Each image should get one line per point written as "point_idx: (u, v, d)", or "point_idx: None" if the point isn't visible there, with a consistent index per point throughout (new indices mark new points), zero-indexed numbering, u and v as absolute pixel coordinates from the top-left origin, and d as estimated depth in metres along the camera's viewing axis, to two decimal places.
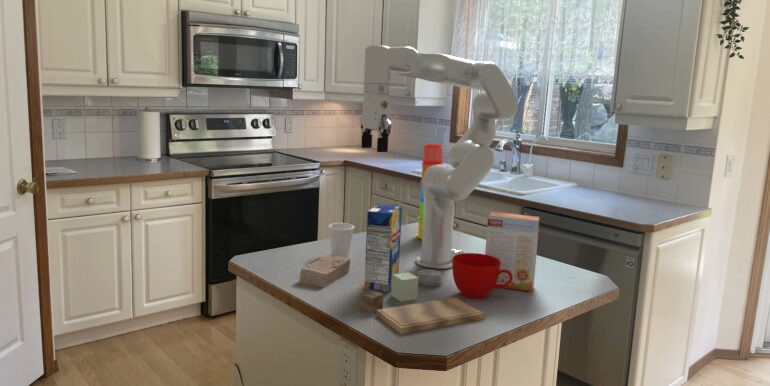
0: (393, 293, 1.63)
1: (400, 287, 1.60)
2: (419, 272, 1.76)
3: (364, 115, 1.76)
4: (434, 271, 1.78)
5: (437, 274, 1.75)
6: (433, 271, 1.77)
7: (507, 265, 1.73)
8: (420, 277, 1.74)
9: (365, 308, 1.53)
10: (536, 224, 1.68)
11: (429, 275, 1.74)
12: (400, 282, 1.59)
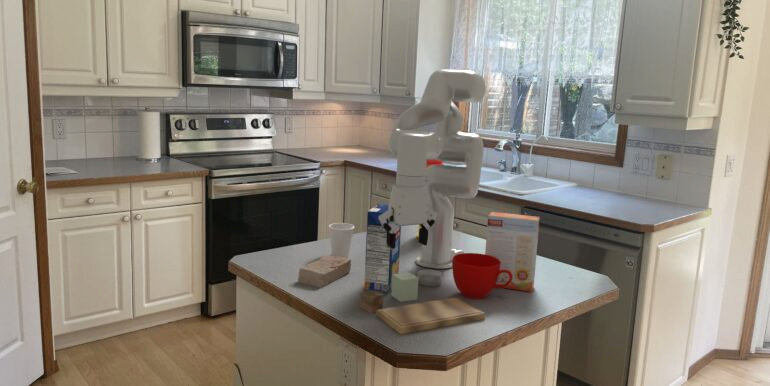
0: (393, 293, 1.63)
1: (400, 287, 1.60)
2: (419, 272, 1.76)
3: (405, 211, 1.56)
4: (434, 271, 1.78)
5: (437, 274, 1.75)
6: (433, 271, 1.77)
7: (507, 265, 1.73)
8: (420, 277, 1.74)
9: (365, 308, 1.53)
10: (536, 224, 1.68)
11: (429, 275, 1.74)
12: (400, 282, 1.59)
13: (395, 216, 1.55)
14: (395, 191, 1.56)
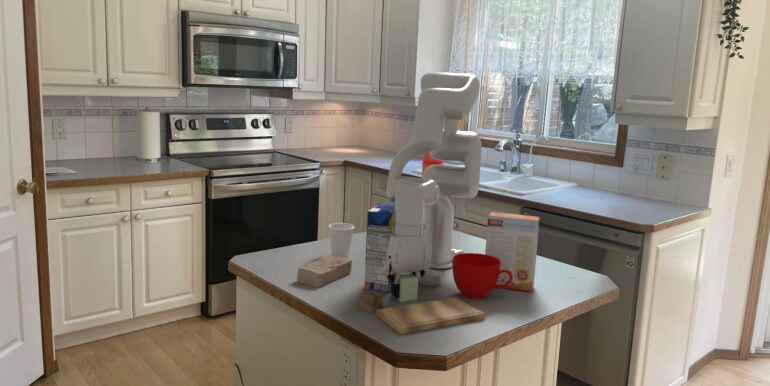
0: None
1: (400, 287, 1.60)
2: None
3: (402, 260, 1.58)
4: (434, 271, 1.78)
5: (437, 274, 1.75)
6: (433, 271, 1.77)
7: (507, 265, 1.73)
8: None
9: (365, 308, 1.53)
10: (536, 224, 1.68)
11: (429, 275, 1.74)
12: (400, 282, 1.59)
13: (393, 264, 1.58)
14: (392, 239, 1.58)
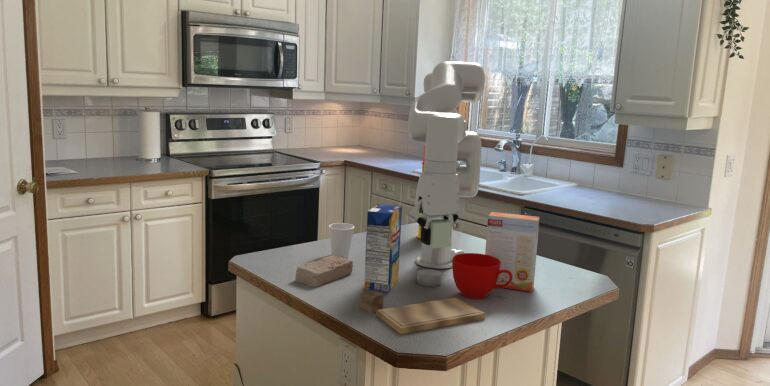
0: None
1: (431, 232, 1.43)
2: (419, 272, 1.76)
3: (434, 201, 1.42)
4: (434, 271, 1.78)
5: (437, 274, 1.75)
6: (433, 271, 1.77)
7: (507, 265, 1.73)
8: (420, 277, 1.74)
9: (365, 308, 1.53)
10: (536, 224, 1.68)
11: (429, 275, 1.74)
12: (432, 226, 1.43)
13: (423, 206, 1.41)
14: (423, 178, 1.42)
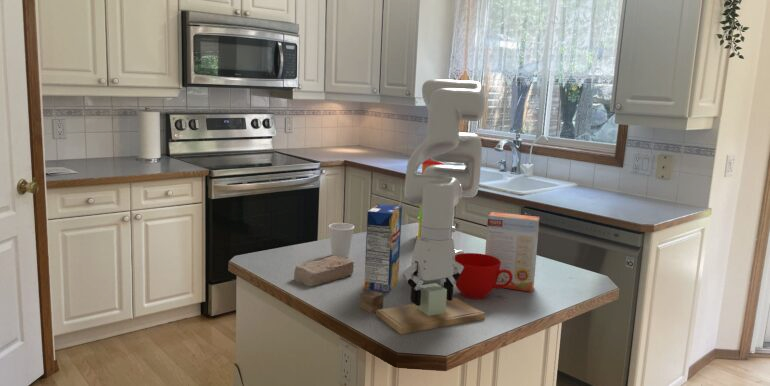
0: (419, 306, 1.50)
1: (427, 300, 1.47)
2: None
3: (430, 266, 1.45)
4: None
5: None
6: None
7: (507, 265, 1.73)
8: None
9: (365, 308, 1.53)
10: (536, 224, 1.68)
11: None
12: (428, 294, 1.46)
13: (420, 271, 1.44)
14: (419, 244, 1.45)
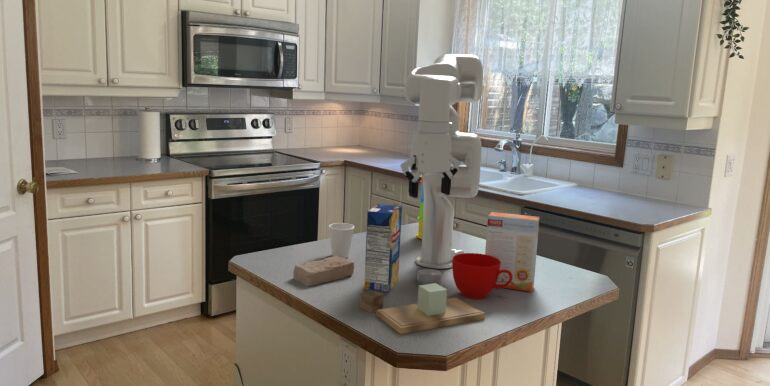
0: (419, 306, 1.50)
1: (427, 300, 1.47)
2: (419, 272, 1.76)
3: (428, 159, 1.50)
4: (434, 271, 1.78)
5: (437, 274, 1.75)
6: (433, 271, 1.77)
7: (507, 265, 1.73)
8: (420, 277, 1.74)
9: (365, 308, 1.53)
10: (536, 224, 1.68)
11: (429, 275, 1.74)
12: (428, 294, 1.46)
13: (418, 164, 1.49)
14: (417, 138, 1.49)
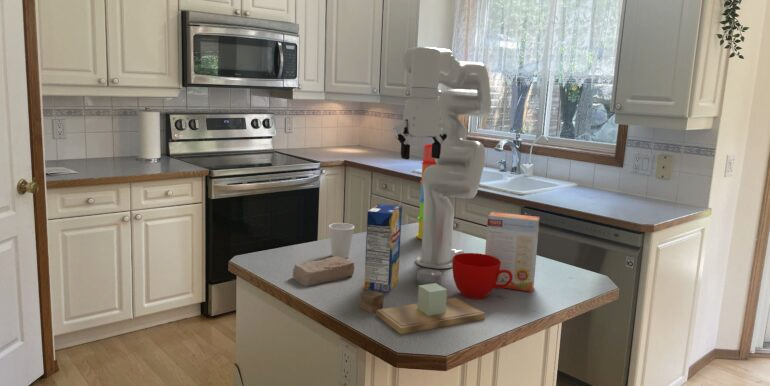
0: (419, 306, 1.50)
1: (427, 300, 1.47)
2: (419, 272, 1.75)
3: (419, 123, 1.61)
4: (433, 271, 1.78)
5: (438, 274, 1.75)
6: (433, 271, 1.78)
7: (507, 265, 1.73)
8: (421, 277, 1.74)
9: (365, 308, 1.53)
10: (536, 224, 1.68)
11: (430, 275, 1.74)
12: (428, 294, 1.46)
13: (409, 127, 1.61)
14: (409, 103, 1.61)
